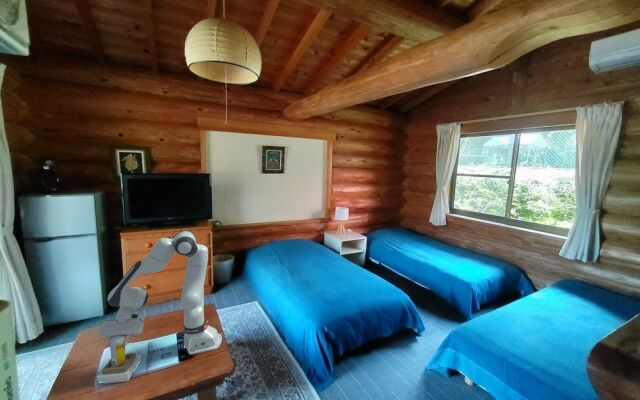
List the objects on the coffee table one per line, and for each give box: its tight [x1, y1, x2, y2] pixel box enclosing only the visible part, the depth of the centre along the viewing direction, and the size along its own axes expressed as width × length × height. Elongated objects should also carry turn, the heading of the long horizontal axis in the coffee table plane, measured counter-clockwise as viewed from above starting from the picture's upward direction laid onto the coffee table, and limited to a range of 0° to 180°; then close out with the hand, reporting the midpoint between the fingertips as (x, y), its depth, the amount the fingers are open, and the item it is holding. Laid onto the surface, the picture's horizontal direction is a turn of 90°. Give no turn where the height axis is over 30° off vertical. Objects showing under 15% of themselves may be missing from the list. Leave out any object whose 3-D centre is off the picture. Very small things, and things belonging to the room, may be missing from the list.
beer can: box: [109, 335, 127, 367], centre depth 144 cm, size 6×6×15 cm
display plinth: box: [96, 352, 142, 384], centre depth 145 cm, size 14×14×6 cm
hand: (117, 345), depth 143 cm, fingers closed on beer can, 6 cm apart
